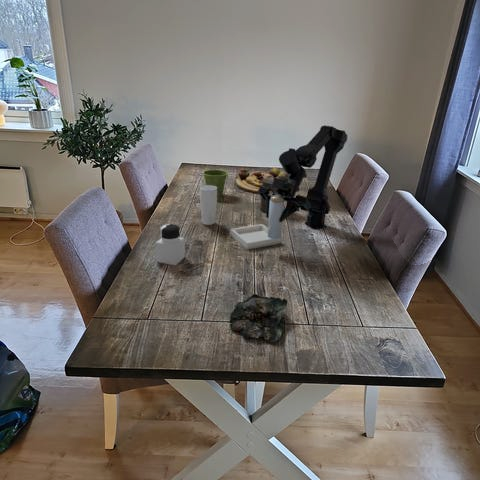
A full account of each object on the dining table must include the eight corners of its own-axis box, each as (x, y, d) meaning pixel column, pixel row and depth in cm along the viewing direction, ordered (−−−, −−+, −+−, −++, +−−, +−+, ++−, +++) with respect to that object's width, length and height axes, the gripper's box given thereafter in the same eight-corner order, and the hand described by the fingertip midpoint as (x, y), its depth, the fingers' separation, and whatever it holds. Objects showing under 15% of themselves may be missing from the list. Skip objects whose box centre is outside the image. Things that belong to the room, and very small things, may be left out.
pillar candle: (257, 211, 186) (259, 178, 180) (264, 205, 194) (266, 173, 188) (278, 215, 183) (281, 182, 177) (284, 208, 191) (288, 176, 185)
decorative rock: (293, 333, 101) (230, 327, 100) (289, 352, 104) (228, 347, 103) (285, 287, 118) (231, 282, 117) (281, 305, 120) (228, 300, 119)
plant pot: (232, 194, 206) (232, 172, 202) (218, 200, 197) (218, 177, 193) (212, 190, 212) (212, 167, 208) (197, 195, 203) (197, 172, 198)
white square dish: (261, 229, 168) (262, 223, 166) (280, 243, 156) (281, 237, 155) (229, 235, 162) (230, 229, 161) (246, 249, 150) (247, 243, 149)
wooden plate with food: (223, 186, 219) (223, 170, 216) (257, 173, 243) (258, 159, 240) (275, 201, 203) (277, 184, 200) (306, 186, 227) (308, 171, 223)
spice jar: (277, 232, 150) (280, 194, 144) (283, 238, 146) (286, 199, 140) (265, 234, 149) (267, 195, 143) (270, 239, 145) (273, 200, 139)
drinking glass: (214, 227, 168) (214, 190, 162) (197, 225, 169) (197, 189, 163) (218, 221, 174) (219, 185, 168) (202, 219, 175) (202, 184, 169)
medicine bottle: (185, 257, 143) (184, 224, 138) (175, 266, 137) (174, 231, 132) (166, 253, 145) (165, 220, 140) (156, 262, 139) (154, 228, 134)
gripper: (262, 163, 146) (241, 201, 142) (310, 173, 136) (290, 215, 132) (272, 180, 155) (254, 217, 151) (318, 191, 145) (300, 230, 141)
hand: (273, 219), depth 144 cm, fingers closed on spice jar, 5 cm apart
